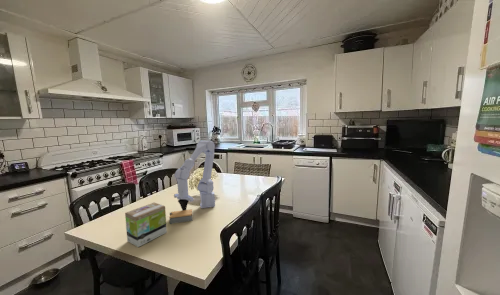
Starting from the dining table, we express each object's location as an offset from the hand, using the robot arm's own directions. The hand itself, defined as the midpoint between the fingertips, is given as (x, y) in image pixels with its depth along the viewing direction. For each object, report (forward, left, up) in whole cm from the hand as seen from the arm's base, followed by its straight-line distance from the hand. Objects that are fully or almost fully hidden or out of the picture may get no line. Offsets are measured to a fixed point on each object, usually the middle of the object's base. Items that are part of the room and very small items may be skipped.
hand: (184, 210), depth 122 cm
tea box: (+17, +18, -4) cm, 25 cm away
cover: (+2, +4, 0) cm, 5 cm away
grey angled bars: (+2, +4, -3) cm, 6 cm away
